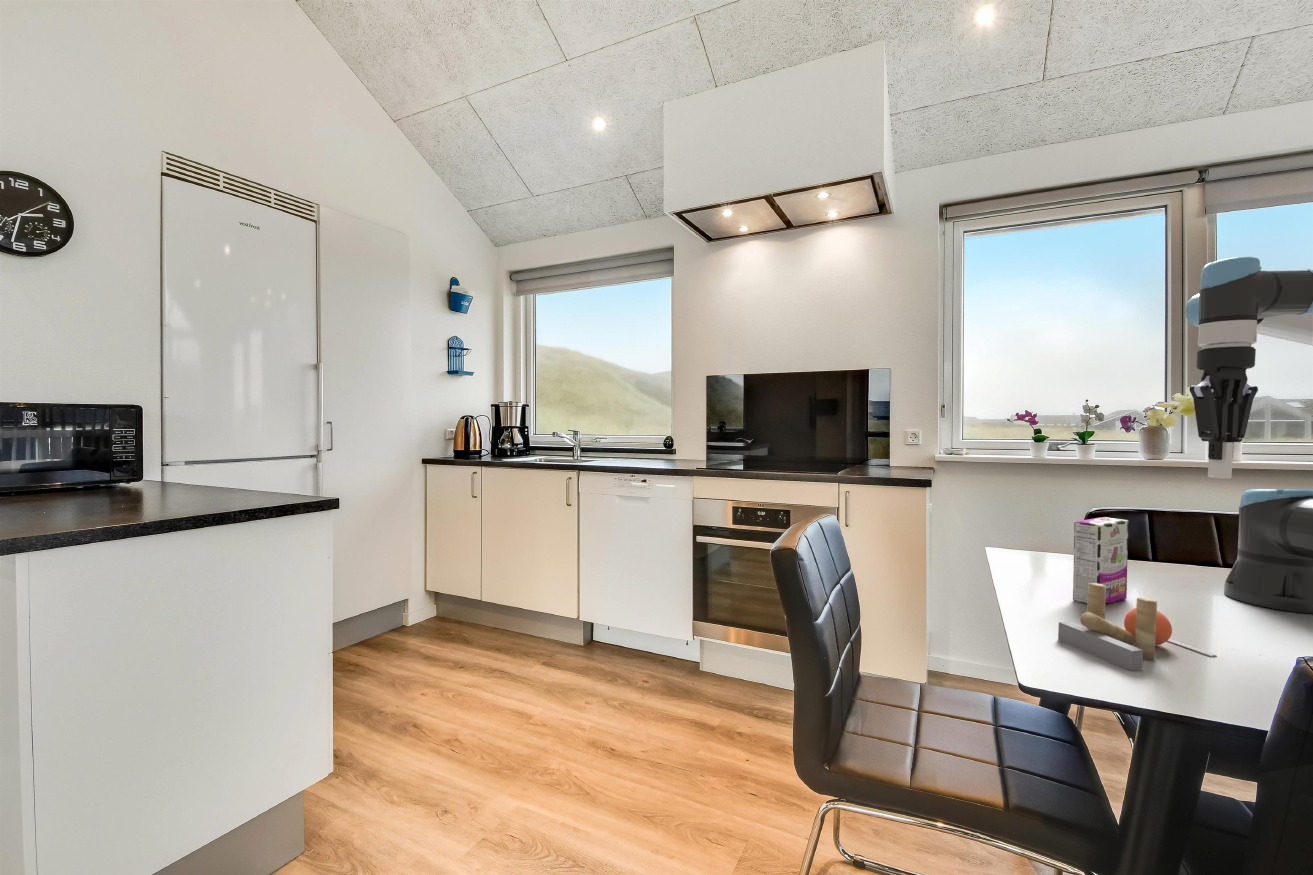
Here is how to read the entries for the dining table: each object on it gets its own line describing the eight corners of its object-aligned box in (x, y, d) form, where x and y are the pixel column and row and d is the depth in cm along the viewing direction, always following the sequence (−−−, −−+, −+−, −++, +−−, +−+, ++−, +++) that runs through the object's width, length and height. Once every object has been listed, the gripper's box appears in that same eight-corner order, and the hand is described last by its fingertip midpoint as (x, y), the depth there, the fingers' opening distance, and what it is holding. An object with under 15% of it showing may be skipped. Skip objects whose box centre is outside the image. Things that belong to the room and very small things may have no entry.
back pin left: (1142, 653, 91) (1144, 597, 90) (1158, 659, 88) (1161, 602, 88) (1130, 654, 90) (1132, 598, 90) (1146, 661, 88) (1148, 603, 87)
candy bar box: (1099, 592, 122) (1102, 516, 121) (1127, 599, 117) (1130, 520, 117) (1070, 600, 117) (1073, 520, 116) (1098, 607, 112) (1101, 524, 112)
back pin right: (1093, 634, 98) (1095, 582, 98) (1107, 639, 96) (1109, 586, 96) (1082, 635, 98) (1084, 583, 98) (1095, 640, 96) (1098, 587, 95)
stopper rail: (1067, 638, 96) (1068, 621, 96) (1142, 669, 85) (1143, 649, 85) (1058, 639, 96) (1058, 621, 96) (1131, 671, 84) (1132, 650, 84)
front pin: (1123, 629, 95) (1083, 610, 93) (1138, 635, 92) (1097, 615, 91) (1117, 643, 95) (1077, 623, 93) (1132, 649, 92) (1092, 629, 90)
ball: (1108, 619, 96) (1126, 644, 97) (1146, 632, 90) (1164, 659, 91) (1131, 594, 97) (1148, 619, 98) (1170, 606, 91) (1187, 633, 92)
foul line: (1137, 628, 102) (1137, 626, 102) (1216, 656, 90) (1216, 654, 90) (1131, 628, 101) (1131, 627, 101) (1210, 656, 90) (1210, 655, 90)
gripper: (1228, 350, 108) (1222, 475, 109) (1174, 348, 105) (1168, 476, 106) (1279, 346, 101) (1272, 479, 102) (1222, 343, 98) (1216, 481, 99)
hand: (1219, 477), depth 104 cm, fingers closed
